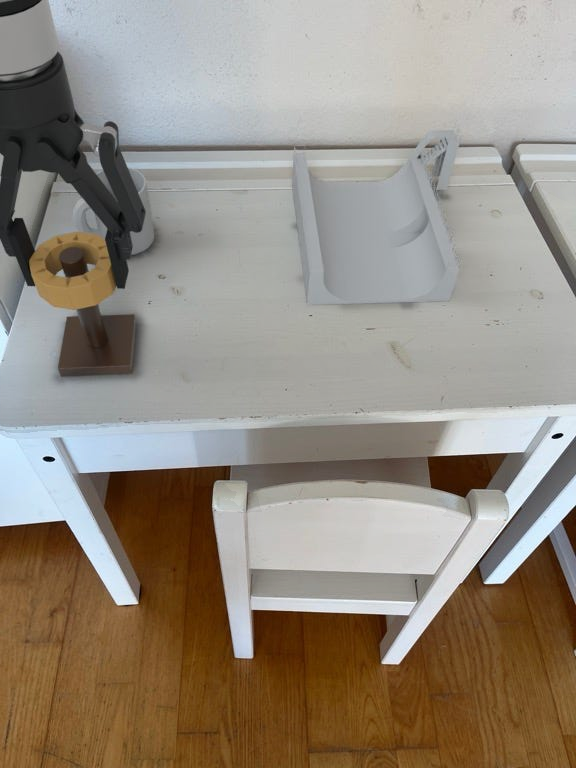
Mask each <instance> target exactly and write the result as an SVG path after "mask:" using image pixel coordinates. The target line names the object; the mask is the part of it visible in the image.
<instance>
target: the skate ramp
mask: <svg viewBox="0 0 576 768" xmlns="http://www.w3.org/2000/svg"><path fill="white" fill-rule="evenodd" d="M448 123H449V124H454V126H453V125H449V126H447V125H445V124H448ZM445 127H446V128H450V127H451V128H453V127H454V128H453V129H445ZM456 127H457V128H456ZM459 133H460V134H459ZM461 138H462V133H461V131H460V128H459V127H458V123H457V122H456V121H449V122H444V123H443V129H442V130H440V129H438V130H437V129H435V130H430V131H429V132H427V133H425V135H424V136H423V137H422V139H421V140H420V142H419V143H418V145H417V146H416V147H415V149H413V152H411V154H410V156H409V157H408V158H407V160H406V161H405V163H404V164H403V165H402V167H401V168H400V169H399V170H398V171H397V172H396V173H395V174H393V175H391V176H390V177H388V178H386V179H382V180H378V181H377V180H376V181H342V182H341V181H338V182H337V181H334V182H333V181H325V180H321V179H319V178H317V177H316V176H314V174H312V173H311V172H310V170H309V167H308V161H307V155H306V152H296V146H299V147H300V146H301V147H302V146H304V148H306V146H307V145H306V144H301V145H300V144H297V145H296V144H295V145H294V147H293V156H292V157H293V159H292V179H291V181H292V182H291V189H292V196H293V197H292V198H293V205H294V211H295V220H296V227H297V235H298V243H299V251H300V261H301V266H302V267H301V268H302V276H303V284H304V289H305V290H304V291H305V299H306V306H316V305H317V306H318V305H352V304H356V305H357V304H359V305H360V304H387V303H388V304H391V303H425V302H426V303H428V302H450V300H451V298H452V294H453V292H454V288H455V286H456V283H457V279H458V277H459V274H460V271H461V266H462V263H463V261H462V259H461V255H460V252H459V251H458V247H457V244H456V242H455V239H454V236H453V232H452V229H451V227H450V224H449V222H448V219H447V216H446V212H445V210H444V207H443V205H442V201H441V198H440V195H439V193H438V190H439V191H441V190H442V191H444V193H443V197H445V194H446V191H447V190H448V187H449V183H450V180H451V177H452V172H453V168H454V165H455V161H456V158H457V154H458V151H459V147H460V142H461ZM436 140H438V142H437V144H434V147H431V148H430V149H428V150H427V152H424V153H423V154H424V155H422V154H421V153H422V151H423V150H424V149H425V148H426V147H427V145H428V144H429V143H431V142H432V141H436ZM433 161H434V163H433V168H432V171H431V170H430V167H429V165H428V164H430V163H431V162H433ZM428 170H429V171H428ZM433 177H435V179H433ZM437 177H438V179H437ZM436 181H437V185H436ZM438 199H439V200H438ZM441 207H442V208H441ZM446 222H447V223H446ZM449 231H450V232H449ZM452 239H453V240H452ZM456 251H457V252H456ZM458 257H459V258H458Z"/></svg>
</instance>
